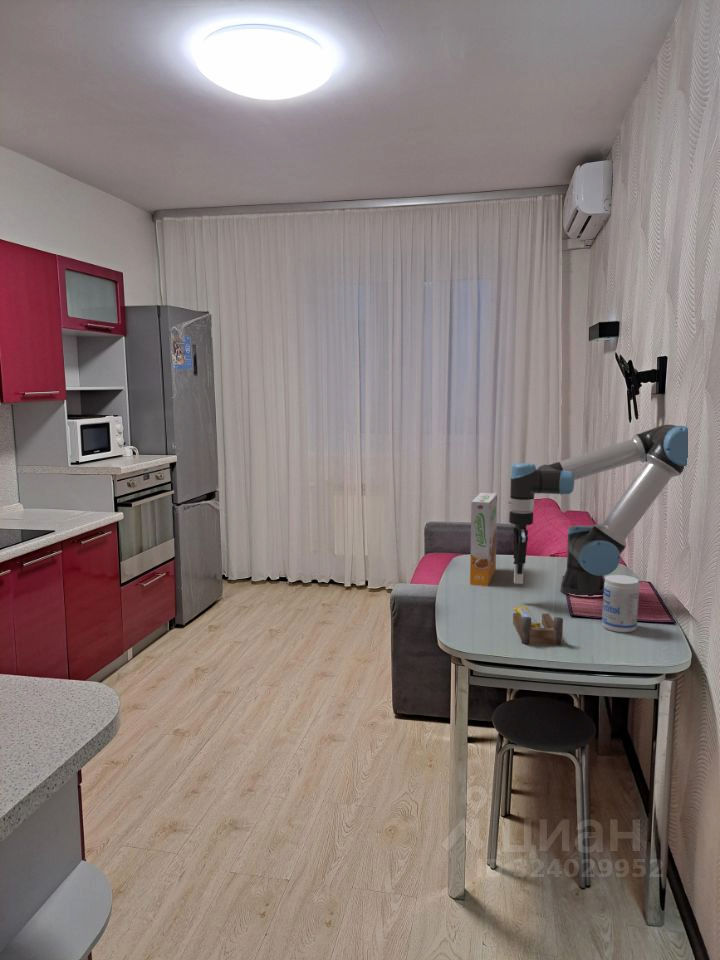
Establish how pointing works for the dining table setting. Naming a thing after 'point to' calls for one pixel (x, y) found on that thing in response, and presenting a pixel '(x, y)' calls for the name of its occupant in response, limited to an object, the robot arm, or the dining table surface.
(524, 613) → the candy bar
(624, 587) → the supplement tub
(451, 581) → the dining table surface
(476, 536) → the cereal box
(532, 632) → the guide channel
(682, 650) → the dining table surface
